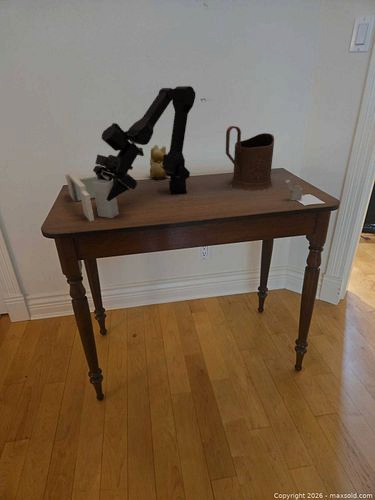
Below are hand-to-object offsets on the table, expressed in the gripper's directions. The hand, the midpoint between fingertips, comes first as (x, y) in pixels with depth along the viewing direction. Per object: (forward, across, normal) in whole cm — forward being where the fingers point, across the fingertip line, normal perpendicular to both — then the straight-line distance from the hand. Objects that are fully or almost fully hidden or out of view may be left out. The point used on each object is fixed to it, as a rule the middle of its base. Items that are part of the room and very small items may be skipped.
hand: (101, 198), depth 105 cm
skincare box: (+4, 0, +6) cm, 7 cm away
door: (-1, -21, +10) cm, 23 cm away
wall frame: (+5, -15, +4) cm, 17 cm away
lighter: (-35, +40, +45) cm, 70 cm away
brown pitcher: (-38, +16, +48) cm, 63 cm away
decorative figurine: (-26, -22, +36) cm, 49 cm away
